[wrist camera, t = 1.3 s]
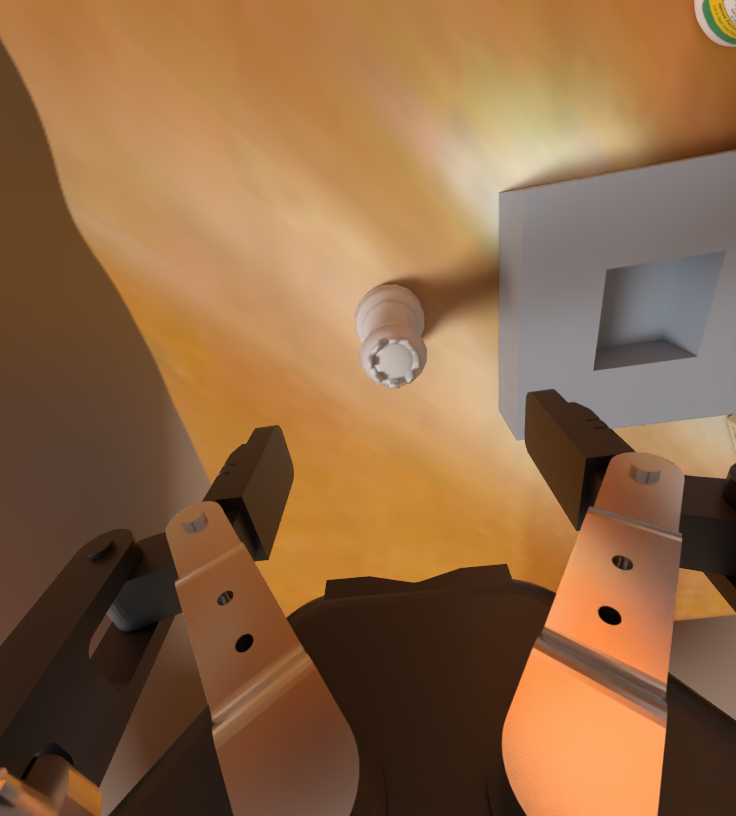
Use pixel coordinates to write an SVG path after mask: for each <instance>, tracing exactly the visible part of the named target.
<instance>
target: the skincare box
mask: <svg viewBox="0 0 736 816" xmlns="http://www.w3.org/2000/svg"><path fill="white" fill-rule="evenodd" d="M726 420H727V423H728V427H729V430H730V434H731V437H732V440H733V443H734V447H735V450H736V414H733V415H731V416H729V417H727V419H726Z"/></svg>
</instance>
